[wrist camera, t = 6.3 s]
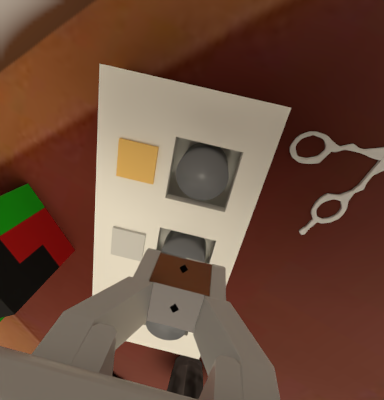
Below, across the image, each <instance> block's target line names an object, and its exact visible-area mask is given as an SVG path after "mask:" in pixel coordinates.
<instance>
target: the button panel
mask: <svg viewBox="0 0 384 400" xmlns="http://www.w3.org/2000/svg"><path fill="white" fill-rule="evenodd" d="M290 110H291V108H290V107H286V106H281V105H277V104H273V103H268V102H264V101H260V100H255V99H251V98H247V97H242V96H238V95H234V94H229V93H225V92H221V91H216V90H212V89H208V88H203V87H199V86H195V85H190V84H186V83H182V82H177V81H173V80H169V79H164V78H160V77H156V76H151V75H147V74H143V73H138V72H134V71H130V70H125V69H121V68H117V67H112V66H108V65H104V64H100V68H99V100H98V132H97V164H96V197H95V229H94V261H93V293H92V296H93V295H95V294H97V293H99V292H101V291H103V290H104V289H106V288H108V287H110V286H112V285H114V284H116V283H117V282H119V281H121V280H123V279H125V278H127V277H128V276H130V277H133V276H134V274H135V272H136V270H137V268H138V266H139V264H140V262H141V260H142V258H143V256H144V254H145V252H146V250H147V249H148V248H152V249H156V250H159V251H161V249H162V247H163V244H164V242H165V239H166V237H167V235H168V233H169V232H170V231H172V230H173V231H177V232H181V233H185V234H190V235H194V236H198V237H202V238H204V239H205V241H206V254H205V263H209V264H215V265H219V266H224V267H225V269H226V285H227V282H228V279H229V277H230V274H231V271H232V268H233V266H234V263H235V260H236V257H237V255H238V252H239V249H240V247H241V244H242V241H243V238H244V236H245V233H246V230H247V227H248V225H249V222H250V219H251V217H252V214H253V211H254V208H255V206H256V203H257V200H258V197H259V195H260V192H261V189H262V187H263V184H264V181H265V178H266V176H267V173H268V170H269V167H270V165H271V162H272V159H273V157H274V154H275V151H276V148H277V146H278V143H279V140H280V137H281V135H282V132H283V129H284V127H285V124H286V121H287V118H288V116H289V113H290ZM199 142H201V143H205V144H209V145H214V146H218V147H220V148H221V149H222V150H223V151H224V153H225V155H226V157H227V161H228V172H229V179H228V183H227V186H226V188H225V189H224V191H223V192H222V193H221V194H220V195H218V196H217V197H215V198H213V199H210V200H196V199H193V198H190V197H189V196H187V195H186V194H185V193H183V192H182V190H181V189H180V187H179V186H178V183H177V180H176V169H177V166H178V164H179V162H180V160H181V159H182V157H183V155H184V154H185V152H186V151H187V150H188V149H189V148H190V147H191V146H192V145H194V144H196V143H199ZM126 341H128V342H132V343H136V344H140V345H144V346H148V347H152V348H156V349H160V350H164V351H168V352H172V353H176V354H180V355H183V356H187V357H191V358H195V359H199V358H200V356H201V355H200V352H199V350H198V347H197V344H196V341H195V339H194V336H193V333H192V332H188V331H186V332H185V334H184V335H183V336H182V337H181V338H179V339H177V340H163V339H160V338H157V337H155V336H154V335H152V334H151V333H150V332H149V331H148V329H147V327H146V323H144V324H143V325H142V326H141V327H140V328H139V329H138V330H137V331H136V332H135V333H133V334H132V335H131V336H130V337H129V338H128V339H127V340H126Z"/></svg>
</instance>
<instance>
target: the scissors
mask: <svg viewBox="0 0 384 400" xmlns="http://www.w3.org/2000/svg"><path fill="white" fill-rule="evenodd" d="M311 135H314V136H317V137H320V138H322V139H323V140H324V143H325V149H324V150H323V151H322V152H321V153H320V154H319V155H318V156H314V157H308V158H304V157H299V156H297V153H296V145H297V143H298V142H299V141H300V140H301V139H303V138H305V137H308V136H311ZM342 150H349V151H354V152H358V153H361V154H364V155H366V156H368V157H370V158H373V159H376V160H378V162H377V163H376V164H375V165H374V166H373V168H372V169H371V170H370V171H369V172H368V173H367V175H366V176H365V177H364V178H363V180H362V181H361V182H360V183H359V184H358V185H357V186H355V187H354V188H353V189H352V190H349V191H347V192H344V193H342V194H330V193H326V194H324V195H323V196H321V197H320V198H319V199H318V200H317V201H316V202H315V203H314V205H313V207H312V208H311V215H312V219H311V220H310V221H309V223H308V224H307V225H306V226H305V227H302V228H301V229H300V230H299V232H300V234H301V235H303V234H306V232H307V231H308V230H309V229H310V228H311V227H312V226H313V225H315V224H316V223H317V222H319V223H330V222H332V221H335V220H337V219H339V218H340V217H341V216H342V215H343V214H344V213H345V211H346V209H347V207H348V201H349V200H350V198H351V197H352V196H353V195H354V193H356V192H359V191H362V190H364V188H365V186H366V183H367V182H368V181H369V180H370V179H371V177H372V176H373V175H375V174H377V173H380V172H382V171H384V147H380V148H369V149H361V148H358V147H357V146H356V145H355V144H353V143H352V144H347V145H343V146H338V145H337V144H336V143H334V142H333V141H332V140H331V139H330V138H329V137H328V136H327V135H325V134H322V133H319V132H316V131H309V132H306V133H303V134H300V135H299V136H297V137H296V138H295V139H294V141H293V142H292V143H291V145H290V154H291V156H292V158H294V159H295V160H296V161H298V162H299V163H305V164H316V163H320V162H321V161H322V160H323V159H324V158H325V157H326V156H327V155H328V154H329V153H330V152H338V151H342ZM333 199H335V200H339V201H340V204H341V208H340V209H339V211H338V212H337V213H336V214H335V215H333V216H330V217H327V218H320V217H318V216H317V214H316V210H317V208H318V207H319V206H320V205H321V204H322V203H324V202H326V201H329V200H333Z"/></svg>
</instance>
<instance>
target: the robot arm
mask: <svg viewBox="0 0 384 400" xmlns="http://www.w3.org/2000/svg"><path fill="white" fill-rule="evenodd" d="M146 321H150V322H154V323H158V324H163V325H167V326H171V327H174V328H178V329H181V330H185V331H188V332H192V333H193V336H194V339H195V341H196V344H197V347H198V350H199V352H200V355H201V358H202V360H203V363H204V366H205V369H206V371H207V374H208V378H207V381H206V383H205V385H204V388H203V390H202V392H201V395H200V397H199V399H194V398H191V397H187V396H183V395H179V394H176V393H172V392H168V391H165V390H161V389H157V388H153V387H150V386H146V385H142V384H139V383H135V382H131V381H127V380H124V379H120V378H116V377H113V376H112V373H113V364H114V354H115V350H116V349H117V348H118V347H119V346H120V345H121V344H122V343H124V342H125V341H126V340H127V339H128V338H129V337H130V336H131V335H132V334H133V333H135V332H136V331H137V330H138V329H139V328H140V327H141V326H142V325H143V324H144V323H146ZM0 400H280V396H279V391H278V385H277V380H276V374H275V369H274V367H273V365H272V364H271V362H270V361H269V359H268V358H267V356H266V355H265V353H264V352H263V350H262V349H261V347H260V346H259V344H258V343H257V342H256V340H255V339H254V337H253V336H252V334H251V333H250V331H249V330H248V328H247V327H246V325H245V324H244V322H243V321H242V319H241V318H240V316H239V315H238V313H237V312H236V310H235V309H234V308H233V306H232V305H231V303H230V302H227V301H226V269H225V267H224V266H219V265H215V264H209V263H205V262H201V261H197V260H193V259H189V258H185V257H182V256H178V255H174V254H171V253H167V252H164V251H159V250H156V249H152V248H148V249H147V250H146V252H145V254H144V256H143V258H142V260H141V262H140V264H139V266H138V268H137V270H136V272H135V274H134V276H133V277H130V276H128V277H127V278H125V279H123V280H121V281H119V282H117V283H116V284H114V285H112V286H110V287H108V288H106V289H104V290H103V291H101V292H99V293H97V294H95V295H93V296H92V297H90V298H88V299H86V300H84V301H82V302H81V303H79V304H77V305H75V306H73V307H71V308H69V309H68V310H66V311H64V312H63V313H62V314H61V316H60V317H59V318H58V320H57V321H56V322H55V324H54V325H53V326H52V328H51V329H50V331H49V332H48V333H47V335H46V336H45V337H44V339H43V340H42V341H41V343H40V344H39V345H38V347H37V348H36V349H35V351H34V352H33V353H32V355H31V354H27V353H24V352H20V351H16V350H13V349H9V348H5V347H2V346H0Z"/></svg>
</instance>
